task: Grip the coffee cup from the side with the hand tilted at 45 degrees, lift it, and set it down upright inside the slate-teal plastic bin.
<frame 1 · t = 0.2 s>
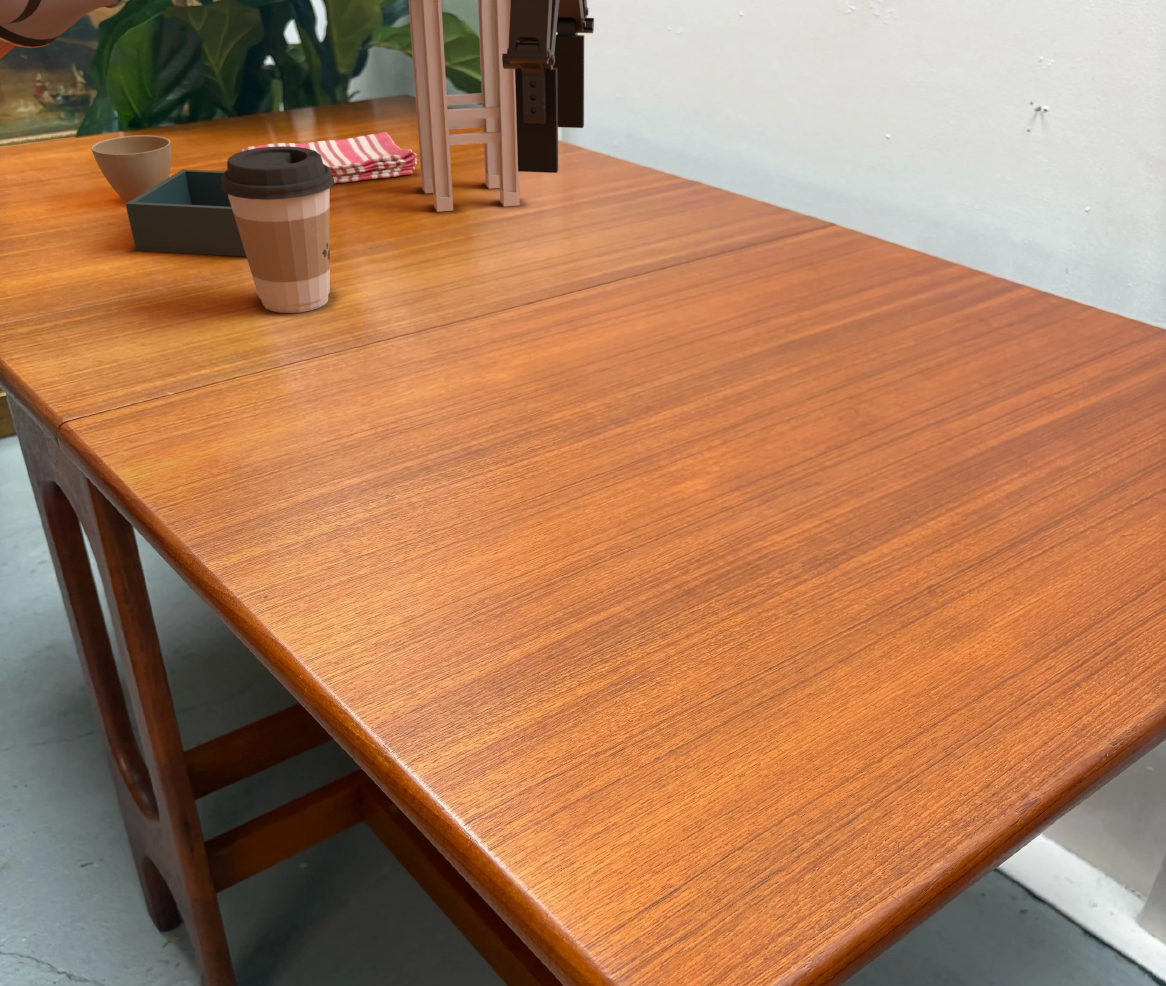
hand: (553, 147, 81), 23 cm above the table, tool pointing down, fingers open, 13 cm apart
dish towel: (328, 170, 164), on the table
beige bowl: (143, 200, 151), on the table
coffee cup: (295, 302, 119), on the table
stool: (470, 198, 153), on the table
bin: (223, 234, 138), on the table
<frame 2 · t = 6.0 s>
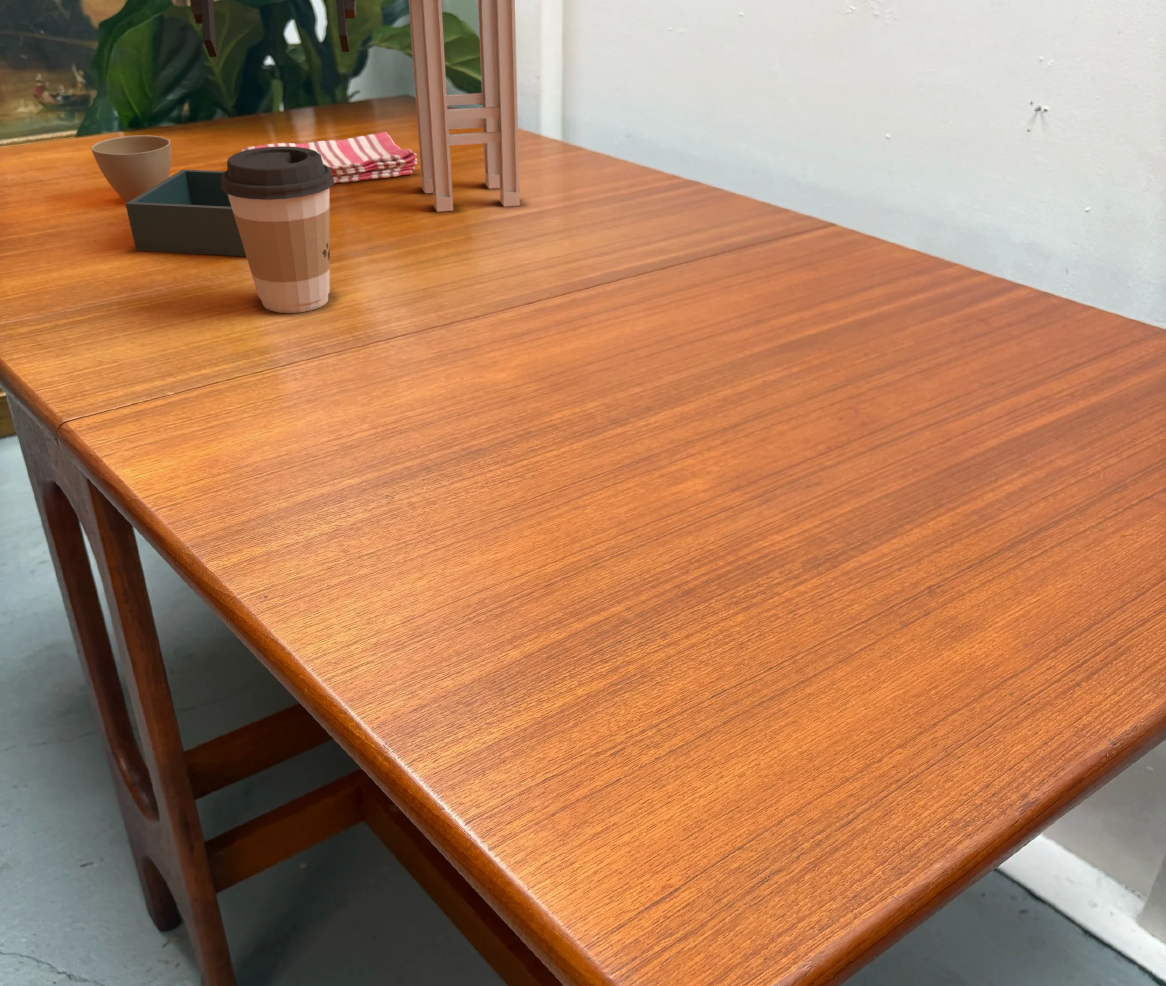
hand: (277, 46, 114), 24 cm above the table, tool tilted 45°, fingers open, 13 cm apart
nothing on the table moved.
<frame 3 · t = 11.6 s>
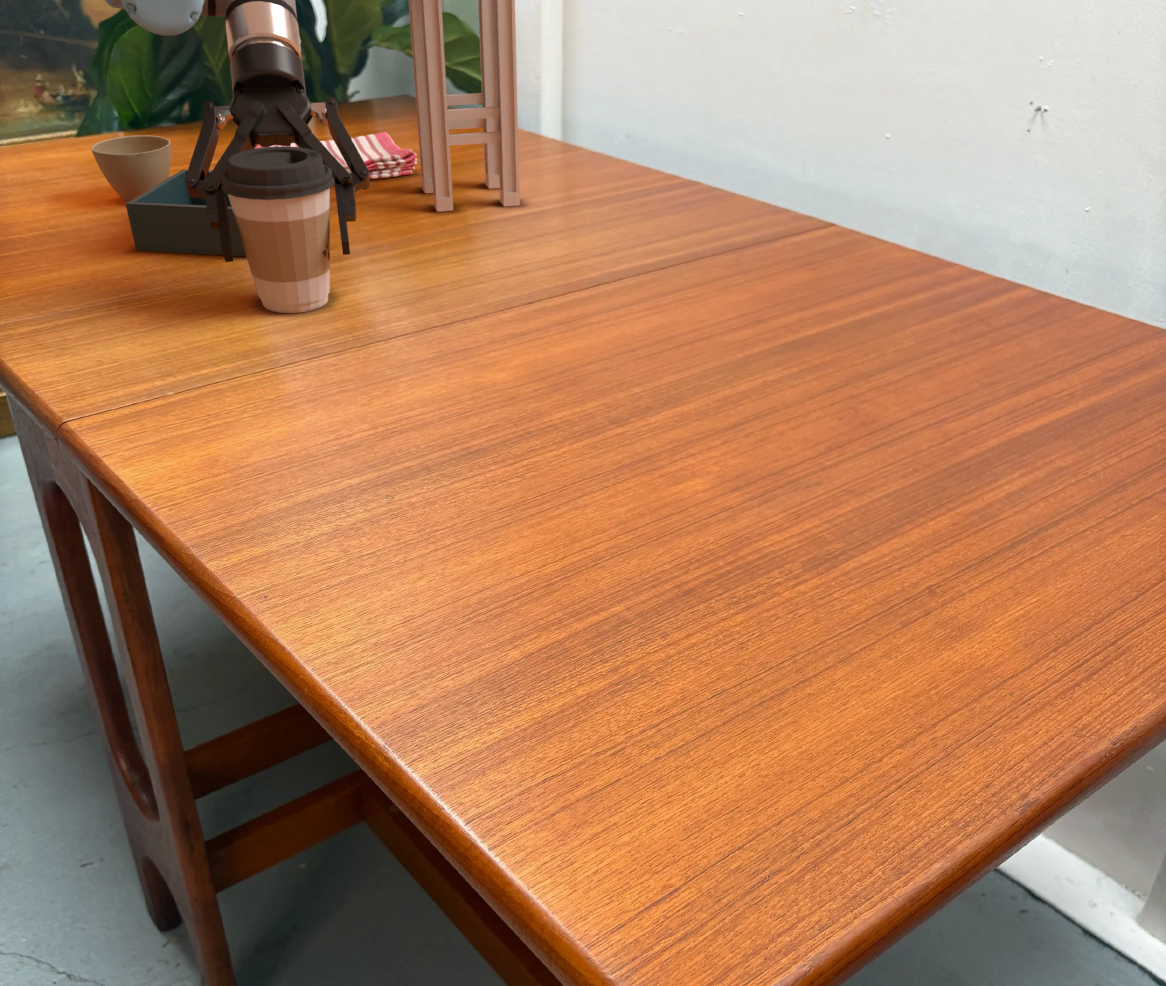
hand: (287, 252, 114), 6 cm above the table, tool tilted 45°, fingers closed on coffee cup, 11 cm apart
coffee cup: (295, 302, 119), on the table, touching gripper
everything else where it was.
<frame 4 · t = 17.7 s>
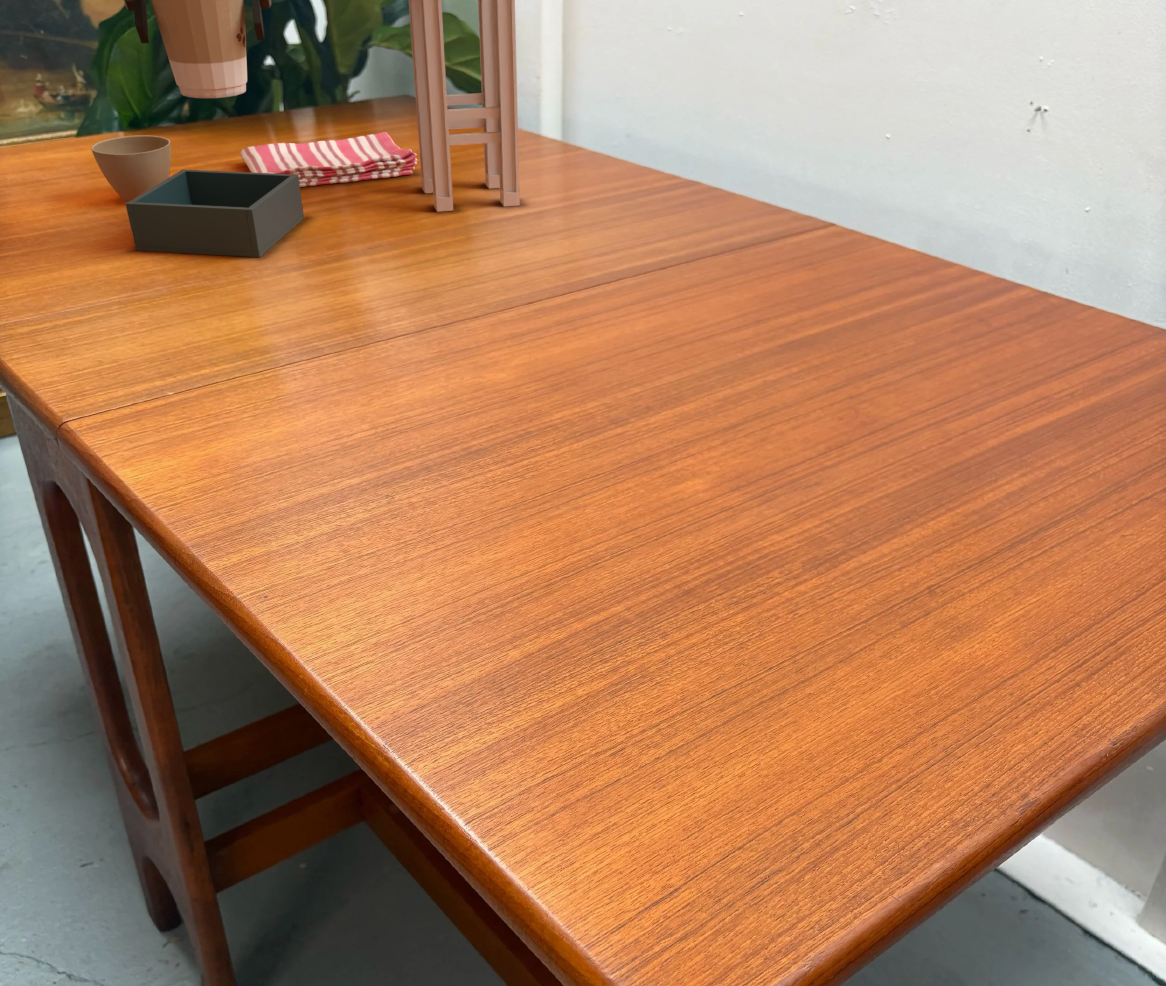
hand: (201, 33, 116), 24 cm above the table, tool tilted 45°, fingers closed on coffee cup, 11 cm apart
coffee cup: (214, 93, 122), point 18 cm above the table, touching gripper
everything else where it was.
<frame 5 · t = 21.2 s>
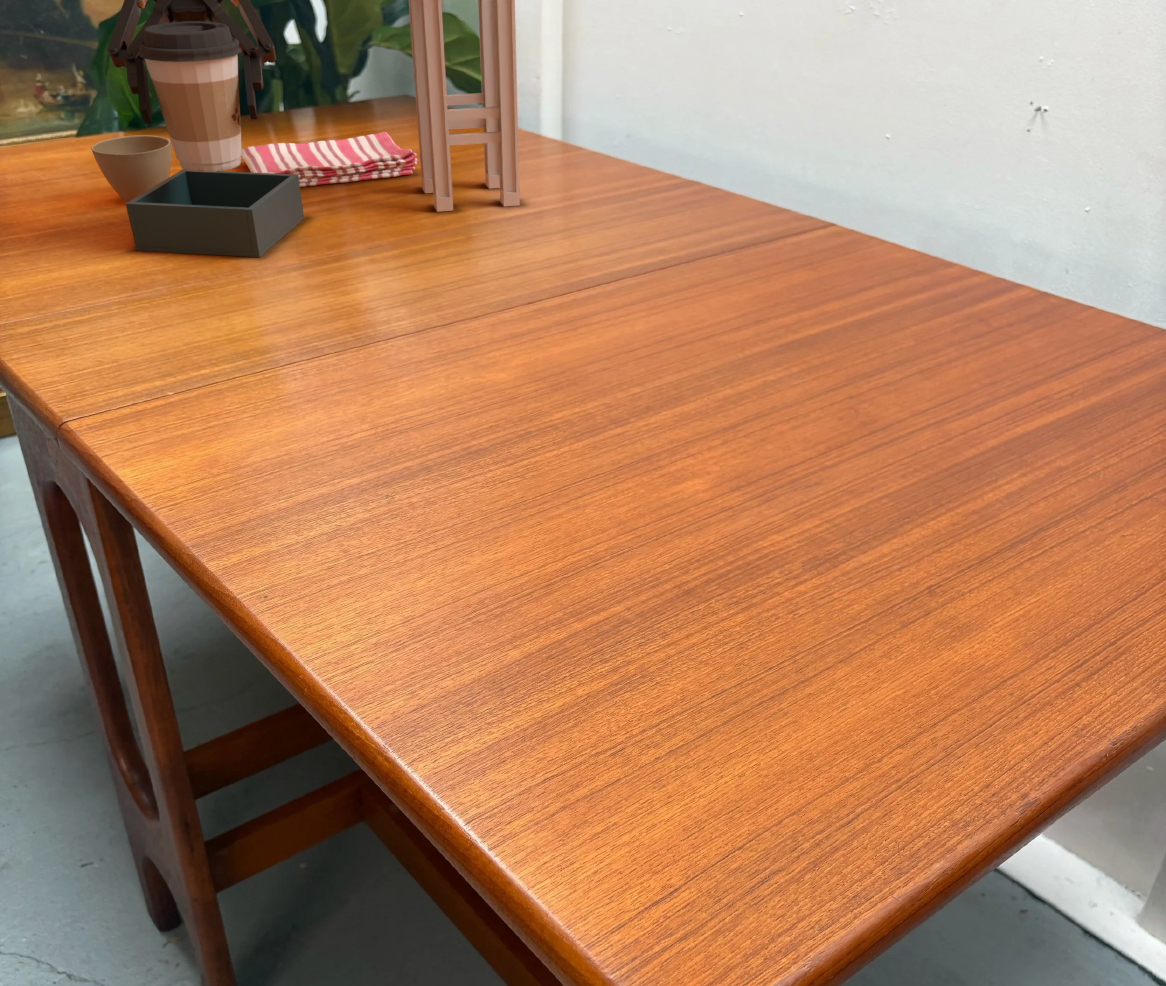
hand: (199, 114, 128), 15 cm above the table, tool tilted 45°, fingers closed on coffee cup, 11 cm apart
coffee cup: (211, 166, 133), point 8 cm above the table, touching gripper
everything else where it was.
when the fingers open (7 cm above the table, at t = 24.0 s): coffee cup stays where it is, resting on bin.
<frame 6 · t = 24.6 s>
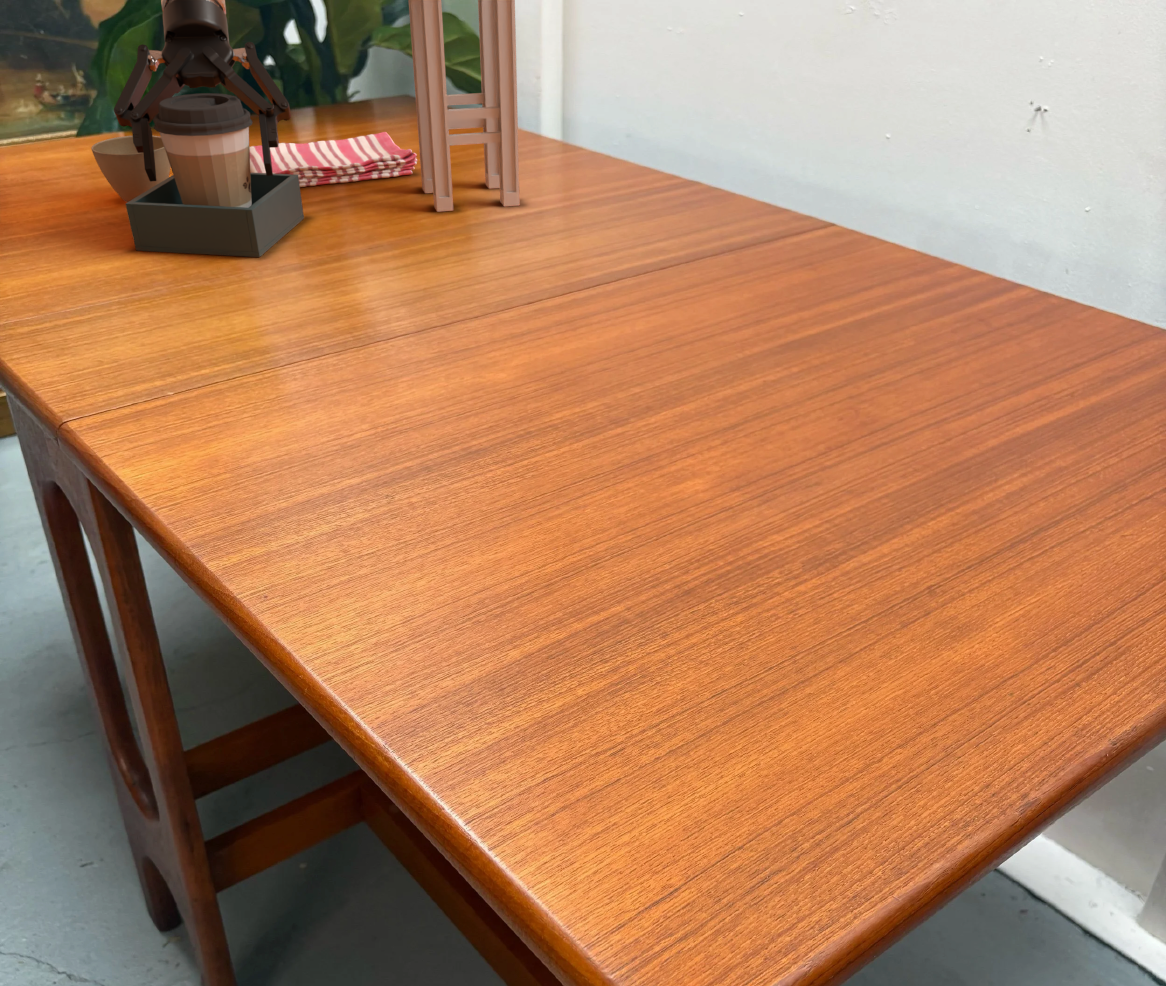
hand: (210, 172, 132), 8 cm above the table, tool tilted 45°, fingers open, 13 cm apart
coffee cup: (222, 230, 138), resting on bin
everything else where it was.
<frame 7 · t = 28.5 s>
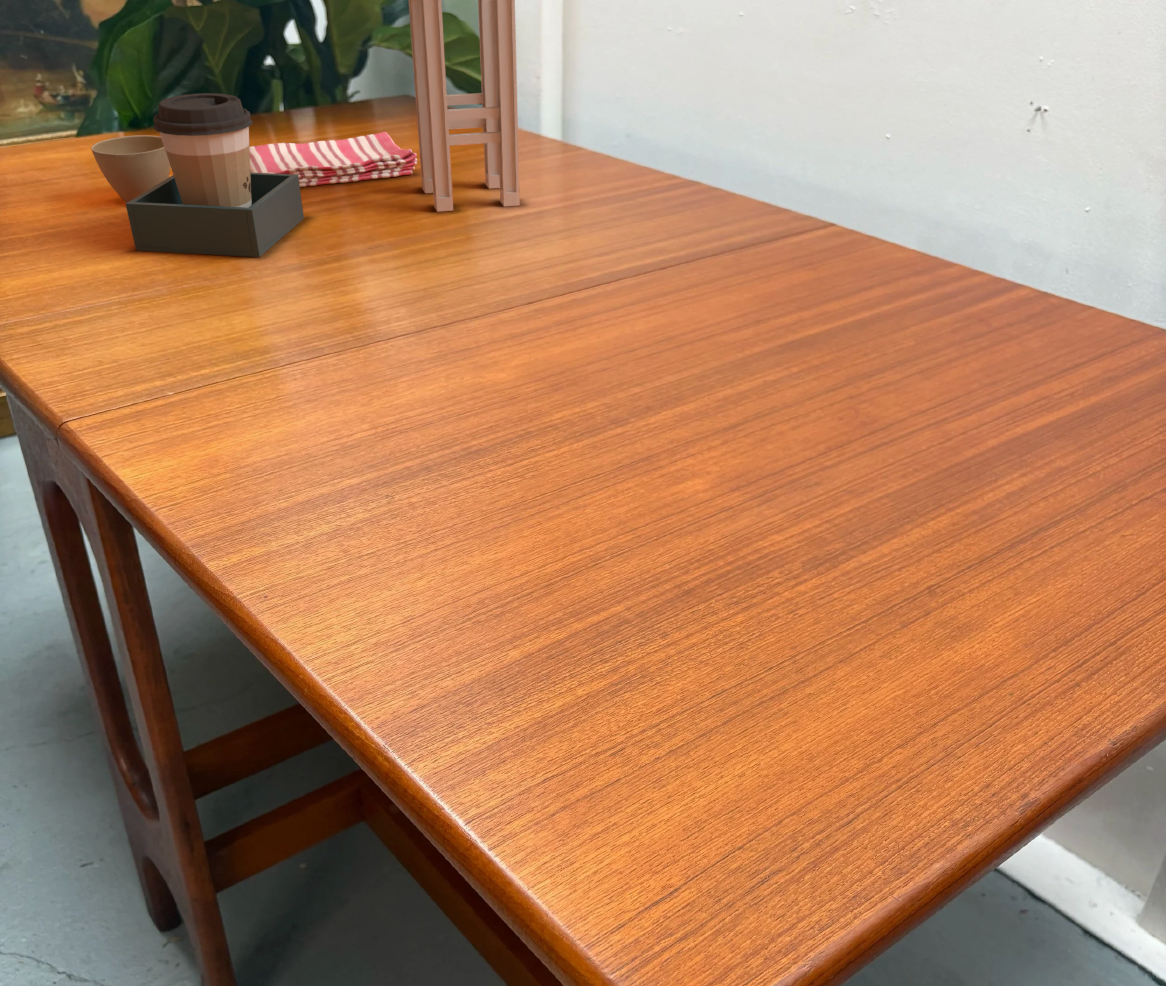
nothing on the table moved.
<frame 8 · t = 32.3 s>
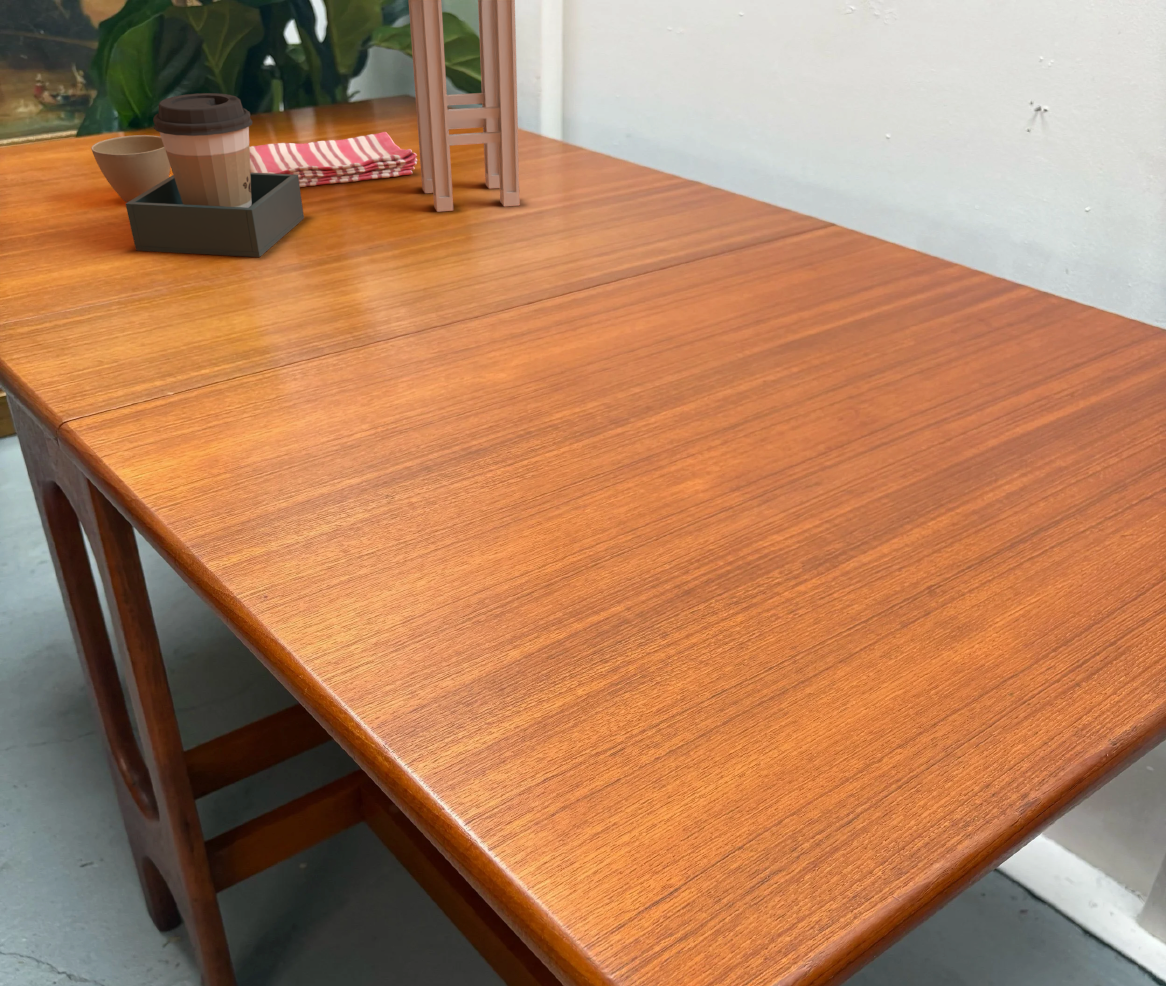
nothing on the table moved.
at the end: coffee cup inside the target area in the bin (0.0 cm from its centre), point 0.4 cm above the bin's base; coffee cup tilted 0°; the gripper is holding nothing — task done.
